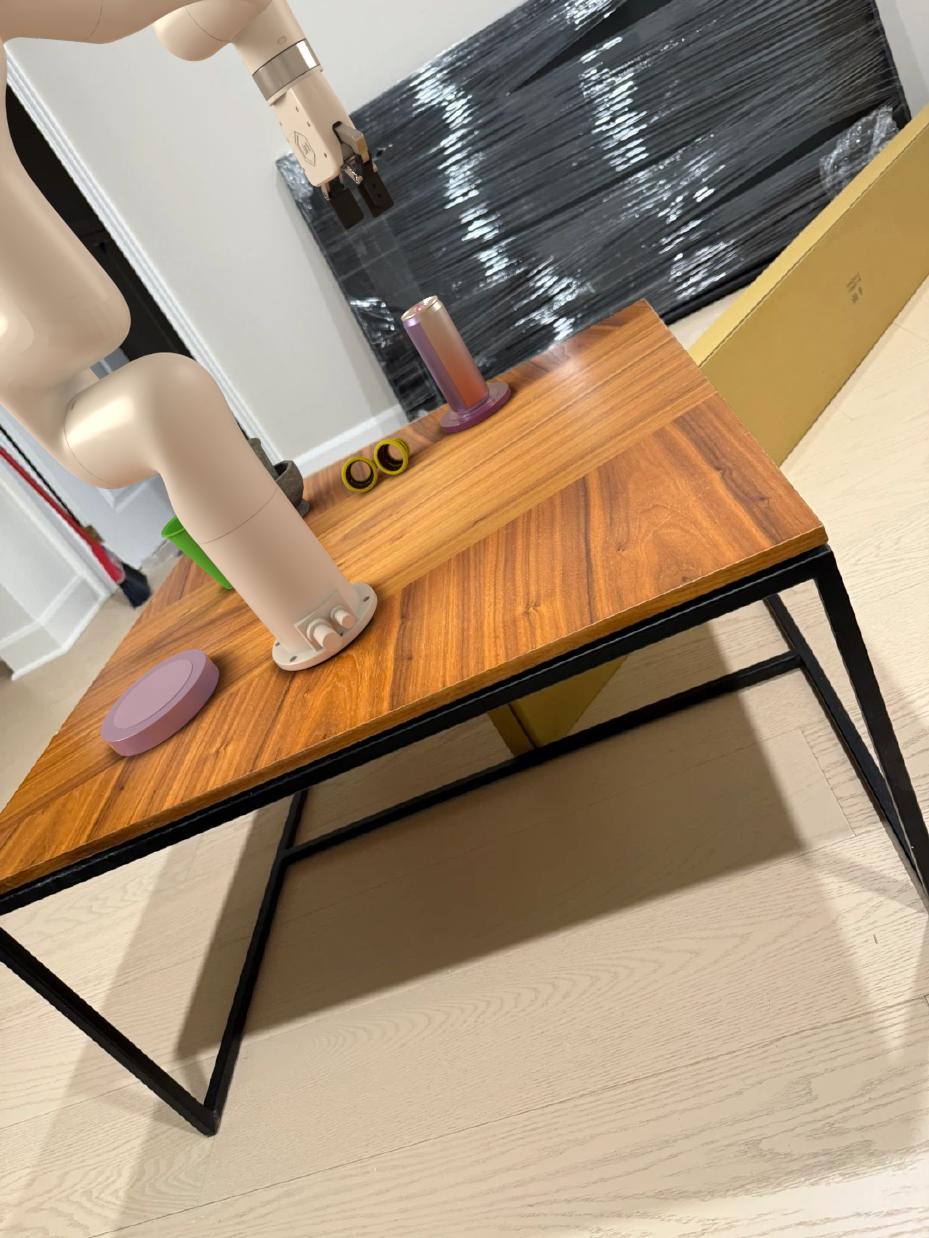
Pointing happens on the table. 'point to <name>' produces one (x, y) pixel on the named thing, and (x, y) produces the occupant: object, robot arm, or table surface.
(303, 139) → the robot arm
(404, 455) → the opera glasses
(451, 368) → the beverage can
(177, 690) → the lavender dish
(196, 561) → the cup
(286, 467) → the mortar and pestle
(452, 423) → the plum dish
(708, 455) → the table surface
